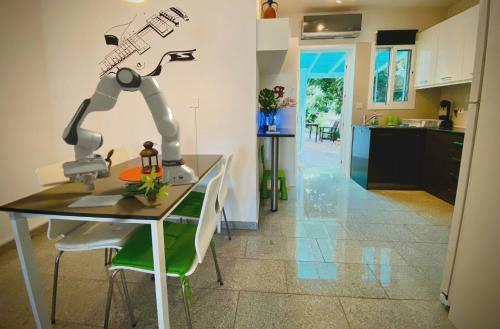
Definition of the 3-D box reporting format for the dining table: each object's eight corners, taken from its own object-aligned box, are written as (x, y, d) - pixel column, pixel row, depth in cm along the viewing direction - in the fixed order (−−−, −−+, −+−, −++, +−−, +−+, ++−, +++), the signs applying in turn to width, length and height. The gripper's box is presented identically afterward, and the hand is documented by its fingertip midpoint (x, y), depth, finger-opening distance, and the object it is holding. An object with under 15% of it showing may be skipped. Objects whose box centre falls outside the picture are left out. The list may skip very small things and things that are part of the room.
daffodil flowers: (147, 191, 136) (187, 186, 114) (128, 211, 126) (168, 210, 105) (126, 168, 128) (164, 158, 107) (104, 188, 118) (141, 182, 97)
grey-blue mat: (126, 195, 127) (126, 194, 127) (113, 205, 113) (113, 204, 113) (85, 197, 125) (85, 196, 125) (68, 207, 112) (67, 206, 112)
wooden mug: (119, 174, 172) (116, 149, 168) (98, 178, 162) (95, 151, 158) (114, 173, 177) (110, 148, 174) (93, 176, 167) (89, 150, 163)
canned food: (79, 178, 163) (76, 160, 160) (87, 179, 160) (84, 161, 158) (67, 181, 156) (63, 163, 153) (75, 182, 153) (72, 163, 150)
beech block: (94, 188, 135) (92, 172, 133) (95, 190, 131) (92, 174, 129) (84, 190, 132) (82, 173, 131) (84, 192, 129) (82, 175, 127)
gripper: (60, 158, 128) (63, 180, 122) (105, 154, 139) (109, 174, 133) (62, 165, 133) (65, 187, 127) (106, 161, 144) (110, 180, 138)
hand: (88, 180), depth 130 cm, fingers closed on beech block, 4 cm apart
